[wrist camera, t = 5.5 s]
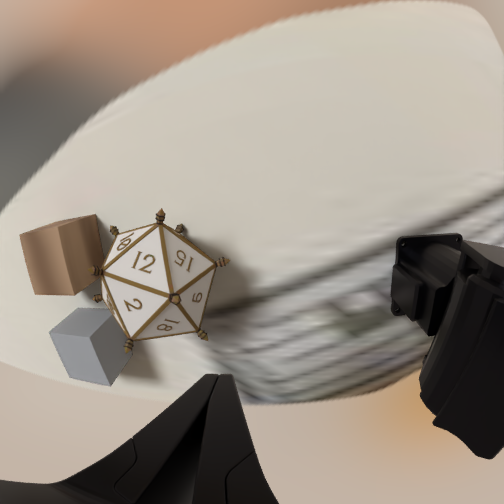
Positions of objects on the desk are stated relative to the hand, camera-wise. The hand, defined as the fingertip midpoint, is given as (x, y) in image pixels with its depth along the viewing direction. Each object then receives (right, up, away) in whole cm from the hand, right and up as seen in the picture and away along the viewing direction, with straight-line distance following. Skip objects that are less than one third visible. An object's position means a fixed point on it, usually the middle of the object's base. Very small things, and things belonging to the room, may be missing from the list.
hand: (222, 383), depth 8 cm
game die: (-5, +3, +13) cm, 14 cm away
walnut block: (-14, +5, +13) cm, 20 cm away
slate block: (-13, -4, +16) cm, 21 cm away
